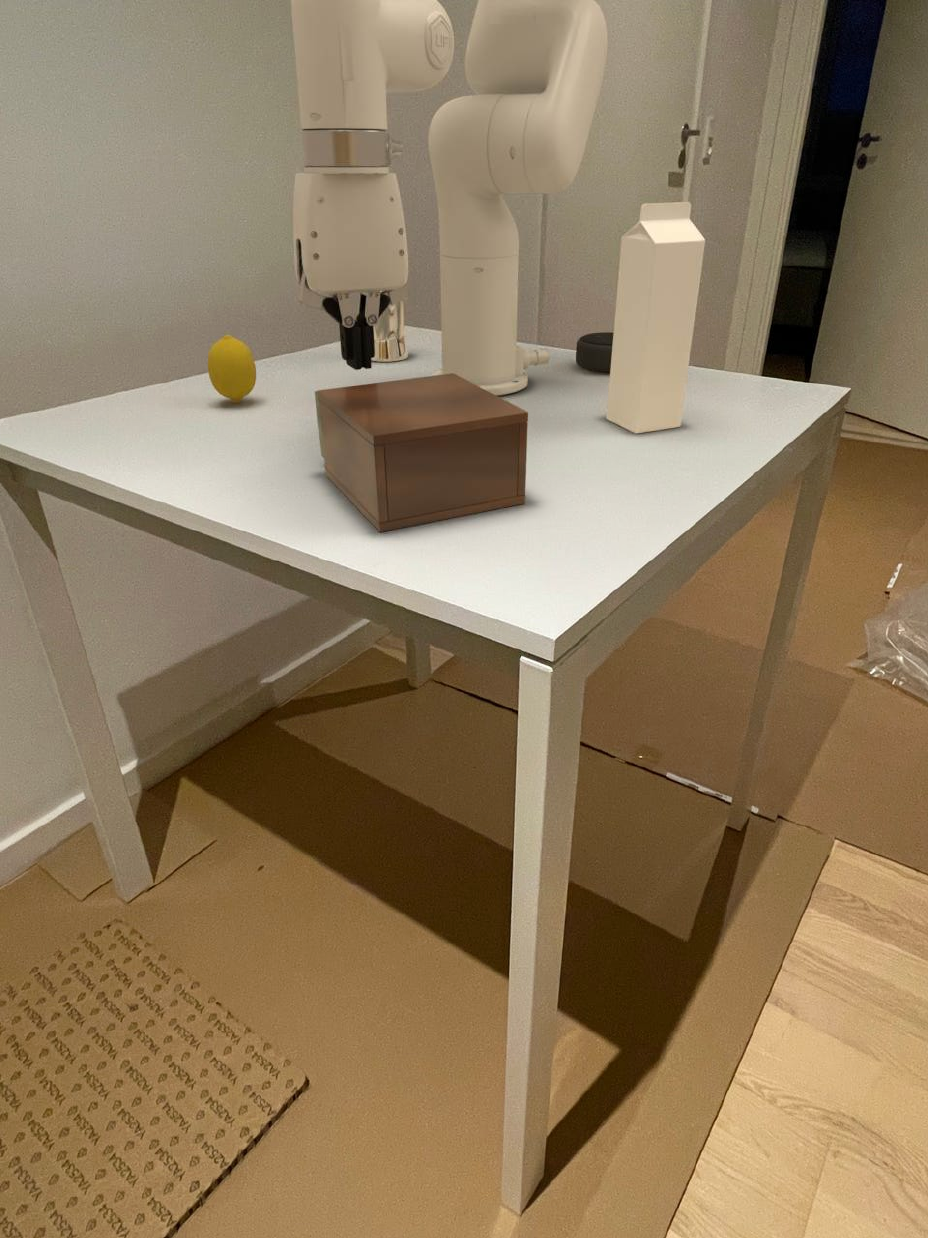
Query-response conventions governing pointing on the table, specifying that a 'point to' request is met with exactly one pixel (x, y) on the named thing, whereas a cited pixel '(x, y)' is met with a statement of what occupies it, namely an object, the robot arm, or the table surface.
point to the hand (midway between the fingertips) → (358, 366)
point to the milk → (654, 318)
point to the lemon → (231, 368)
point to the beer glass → (391, 334)
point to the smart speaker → (595, 352)
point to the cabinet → (423, 449)
